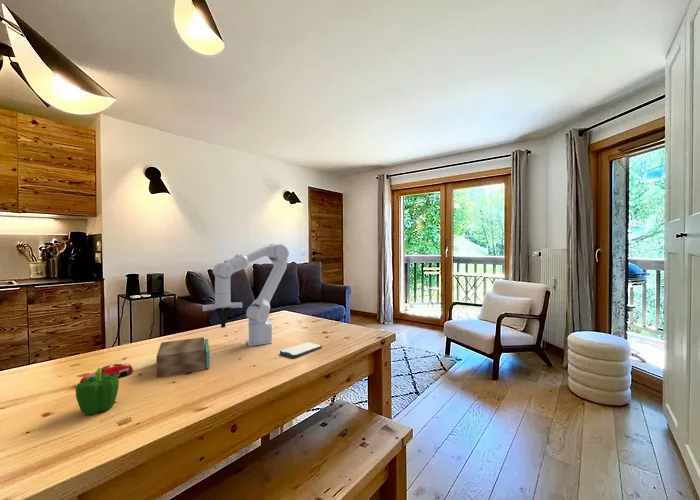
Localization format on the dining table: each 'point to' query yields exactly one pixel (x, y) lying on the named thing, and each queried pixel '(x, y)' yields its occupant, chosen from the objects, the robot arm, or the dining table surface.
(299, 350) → the phone case
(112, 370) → the race car
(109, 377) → the bell pepper
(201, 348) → the spice box
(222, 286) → the robot arm
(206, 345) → the drawer
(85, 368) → the dining table surface
